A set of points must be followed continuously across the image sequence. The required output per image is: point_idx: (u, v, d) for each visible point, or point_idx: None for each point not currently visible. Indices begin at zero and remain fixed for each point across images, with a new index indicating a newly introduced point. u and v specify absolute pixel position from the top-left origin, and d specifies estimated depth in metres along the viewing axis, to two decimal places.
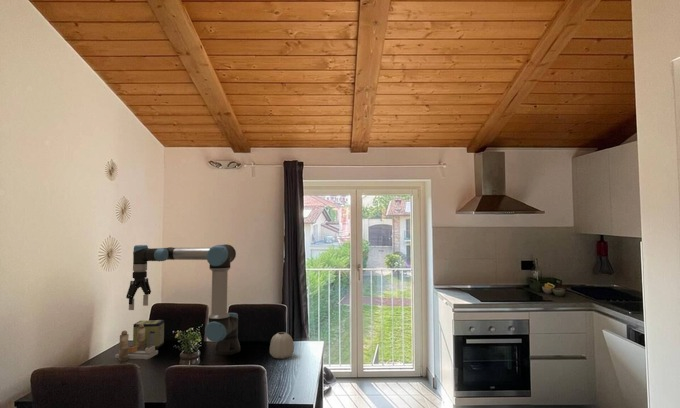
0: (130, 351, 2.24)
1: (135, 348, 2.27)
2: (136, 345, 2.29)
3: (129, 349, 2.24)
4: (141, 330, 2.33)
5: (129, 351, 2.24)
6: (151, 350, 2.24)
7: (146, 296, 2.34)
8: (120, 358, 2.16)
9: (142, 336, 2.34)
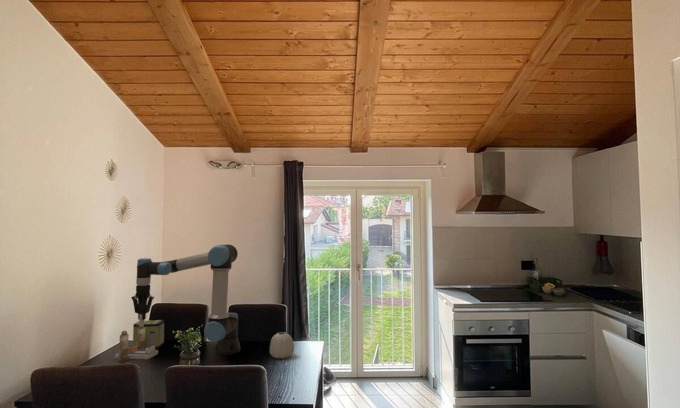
0: (130, 351, 2.24)
1: (135, 348, 2.27)
2: (136, 345, 2.29)
3: (129, 349, 2.24)
4: (141, 330, 2.33)
5: (129, 351, 2.24)
6: (151, 350, 2.24)
7: None
8: (120, 358, 2.16)
9: (142, 336, 2.34)
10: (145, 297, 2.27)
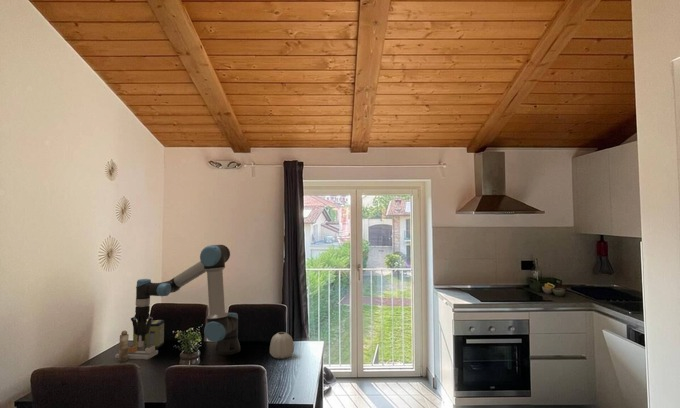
0: (130, 351, 2.24)
1: (135, 348, 2.27)
2: (136, 345, 2.29)
3: (129, 349, 2.24)
4: None
5: (129, 351, 2.24)
6: (151, 350, 2.24)
7: None
8: (120, 358, 2.16)
9: None
10: (144, 318, 2.26)
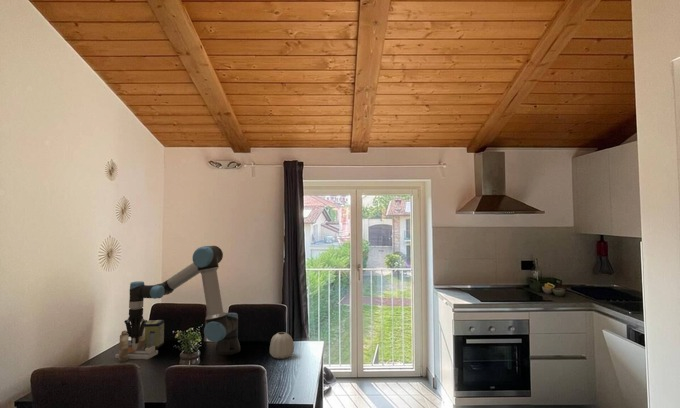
0: (129, 351, 2.24)
1: None
2: None
3: (128, 349, 2.24)
4: None
5: (128, 351, 2.24)
6: (151, 350, 2.24)
7: None
8: (120, 358, 2.16)
9: (142, 336, 2.34)
10: (138, 321, 2.26)
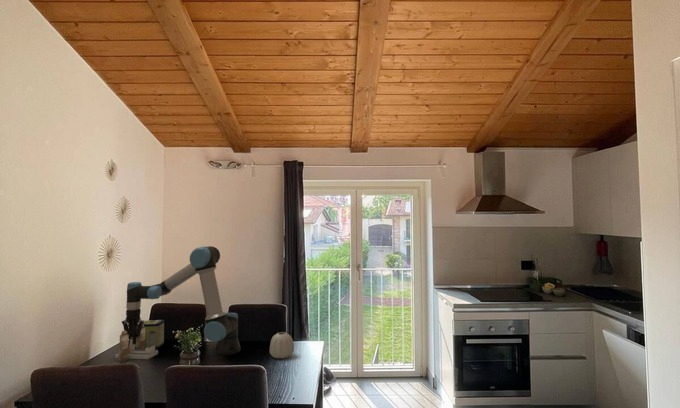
0: None
1: None
2: None
3: None
4: (141, 330, 2.33)
5: None
6: (151, 350, 2.24)
7: None
8: (120, 358, 2.16)
9: (142, 336, 2.34)
10: (135, 321, 2.26)
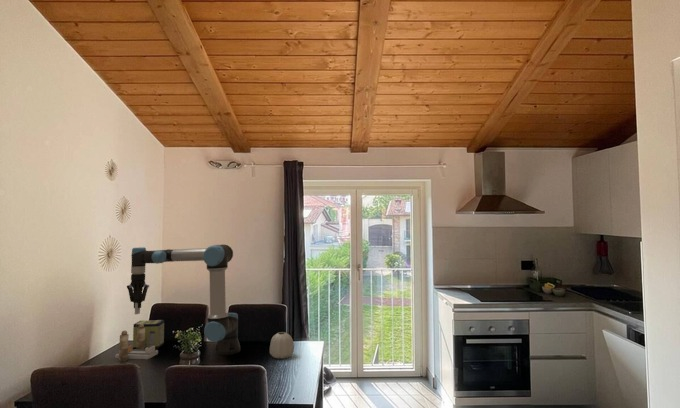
0: None
1: (130, 348, 2.27)
2: (131, 345, 2.29)
3: None
4: (141, 330, 2.33)
5: None
6: (151, 350, 2.24)
7: None
8: (120, 358, 2.16)
9: (142, 336, 2.34)
10: (140, 286, 2.28)
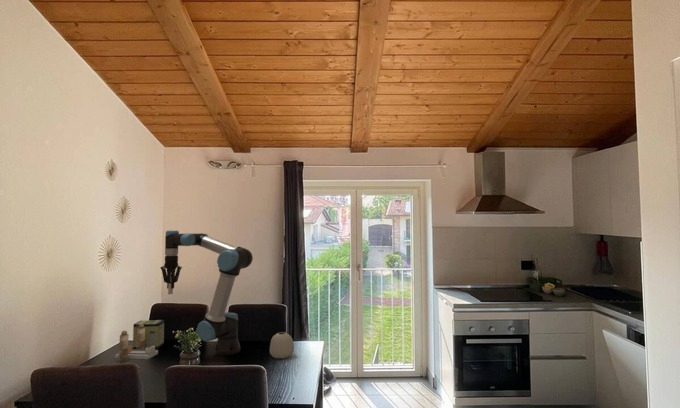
0: None
1: (130, 348, 2.27)
2: (131, 345, 2.29)
3: None
4: (141, 330, 2.33)
5: None
6: (151, 350, 2.24)
7: None
8: (120, 358, 2.16)
9: (142, 336, 2.34)
10: (173, 267, 2.37)
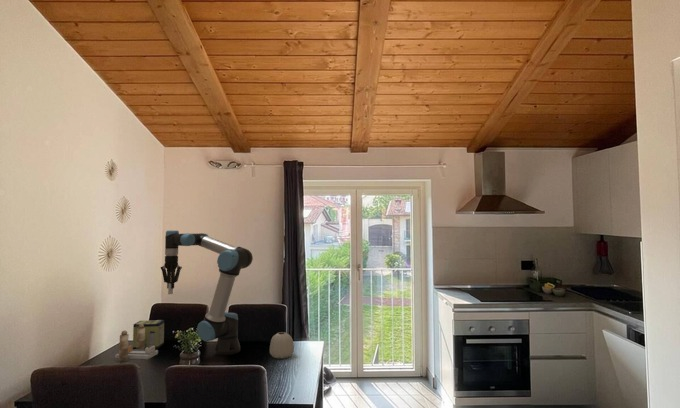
0: None
1: (130, 348, 2.27)
2: (131, 345, 2.29)
3: None
4: (141, 330, 2.33)
5: None
6: (151, 350, 2.24)
7: None
8: (120, 358, 2.16)
9: (142, 336, 2.34)
10: (173, 267, 2.37)
